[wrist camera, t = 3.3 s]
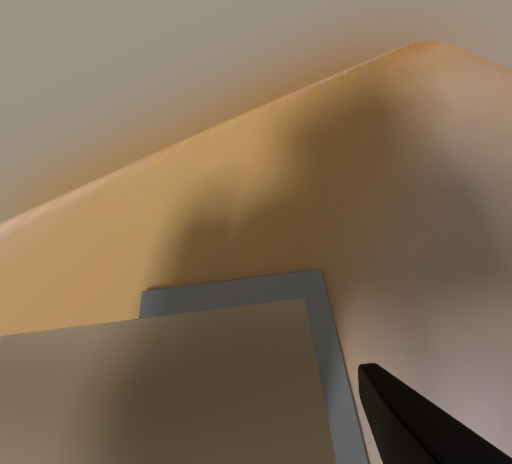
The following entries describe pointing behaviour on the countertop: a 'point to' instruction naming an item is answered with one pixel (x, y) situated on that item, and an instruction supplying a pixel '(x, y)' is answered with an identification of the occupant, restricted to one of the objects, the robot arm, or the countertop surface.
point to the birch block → (167, 391)
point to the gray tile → (321, 326)
